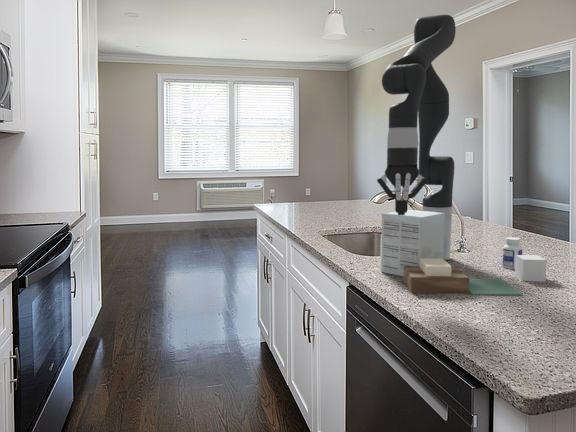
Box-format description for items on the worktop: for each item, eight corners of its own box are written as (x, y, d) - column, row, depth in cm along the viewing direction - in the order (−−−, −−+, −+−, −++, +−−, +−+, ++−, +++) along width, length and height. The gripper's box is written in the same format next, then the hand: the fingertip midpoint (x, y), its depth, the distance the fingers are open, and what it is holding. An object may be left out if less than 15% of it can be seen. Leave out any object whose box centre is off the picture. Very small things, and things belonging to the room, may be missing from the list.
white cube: (514, 275, 140) (515, 254, 139) (536, 276, 139) (537, 255, 139) (522, 281, 134) (523, 259, 133) (545, 281, 133) (546, 259, 133)
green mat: (456, 280, 135) (456, 278, 135) (501, 280, 134) (501, 279, 134) (471, 294, 121) (472, 293, 121) (522, 295, 120) (522, 293, 120)
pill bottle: (516, 265, 152) (517, 236, 151) (524, 269, 147) (526, 239, 146) (499, 265, 152) (500, 237, 151) (507, 269, 147) (508, 240, 146)
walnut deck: (403, 280, 135) (403, 266, 135) (455, 281, 134) (456, 266, 134) (411, 293, 123) (411, 277, 123) (468, 293, 122) (469, 277, 122)
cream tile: (419, 267, 133) (420, 258, 133) (442, 267, 132) (442, 258, 132) (426, 275, 124) (427, 266, 124) (451, 276, 124) (451, 266, 123)
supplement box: (404, 264, 154) (405, 209, 152) (443, 271, 145) (445, 212, 142) (379, 272, 145) (380, 212, 142) (419, 280, 135) (421, 217, 133)
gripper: (426, 146, 128) (424, 212, 130) (374, 146, 129) (373, 212, 131) (432, 146, 120) (430, 216, 123) (377, 146, 121) (376, 216, 124)
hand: (400, 214), depth 127 cm, fingers closed
